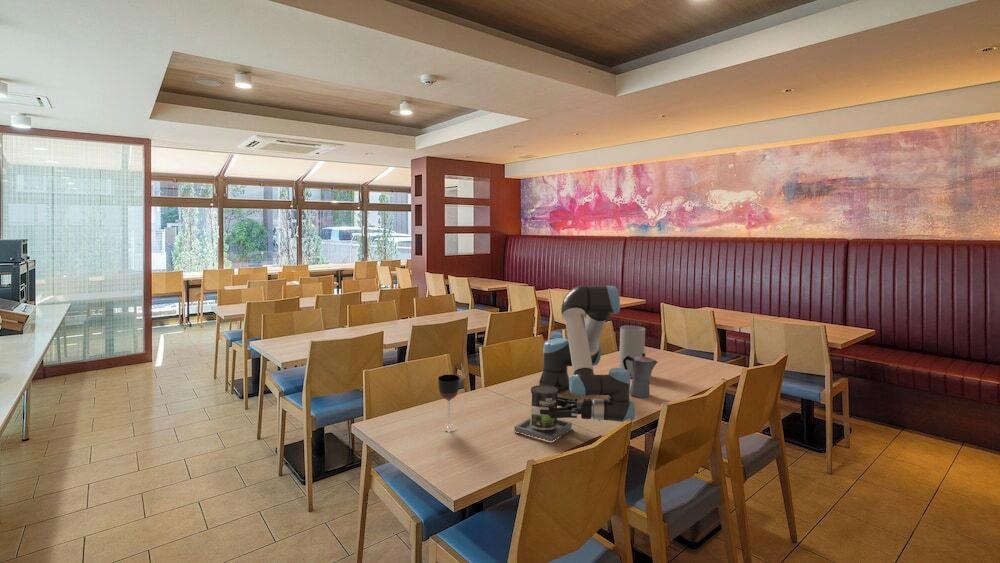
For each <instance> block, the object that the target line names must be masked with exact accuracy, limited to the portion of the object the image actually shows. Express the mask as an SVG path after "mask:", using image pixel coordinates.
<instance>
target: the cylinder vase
mask: <svg viewBox="0 0 1000 563" xmlns="http://www.w3.org/2000/svg"><path fill="white" fill-rule="evenodd" d="M619 328H620V329H619V334H620V335H619V356H618V368H623V369H625V367H624V364H623V360H624V358H626V357H627V356H630V357H636V356H642V353H645V347H646V346H645V344H646V343H645V342H646V328H645V327H643V326H639V325H638V326H637V325H622V326H620V327H619ZM626 365H627V370H628V371H629V373H630V374H632V375H631V376H630V379H633V375H634V374H633V361H630V360H626Z"/></svg>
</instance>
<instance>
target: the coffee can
mask: <svg viewBox="0 0 1000 563" xmlns="http://www.w3.org/2000/svg"><path fill="white" fill-rule="evenodd" d="M558 394H559V392H558V389H557V388H555V387H553V386H549V385H539V384H538V385H537V384H536V385H534V386H531V387H530V407H531V406H534V407H548V408H549V407H551V409H552V408H558V406H557V396H558ZM530 417H531V418H530ZM530 417H529V418H530V425H531V426H532V427H533V428H535V429H539V430H551V429H554V428H556V426H557V419H558V418H550V416H549V415H537V414H531V413H530Z"/></svg>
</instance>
